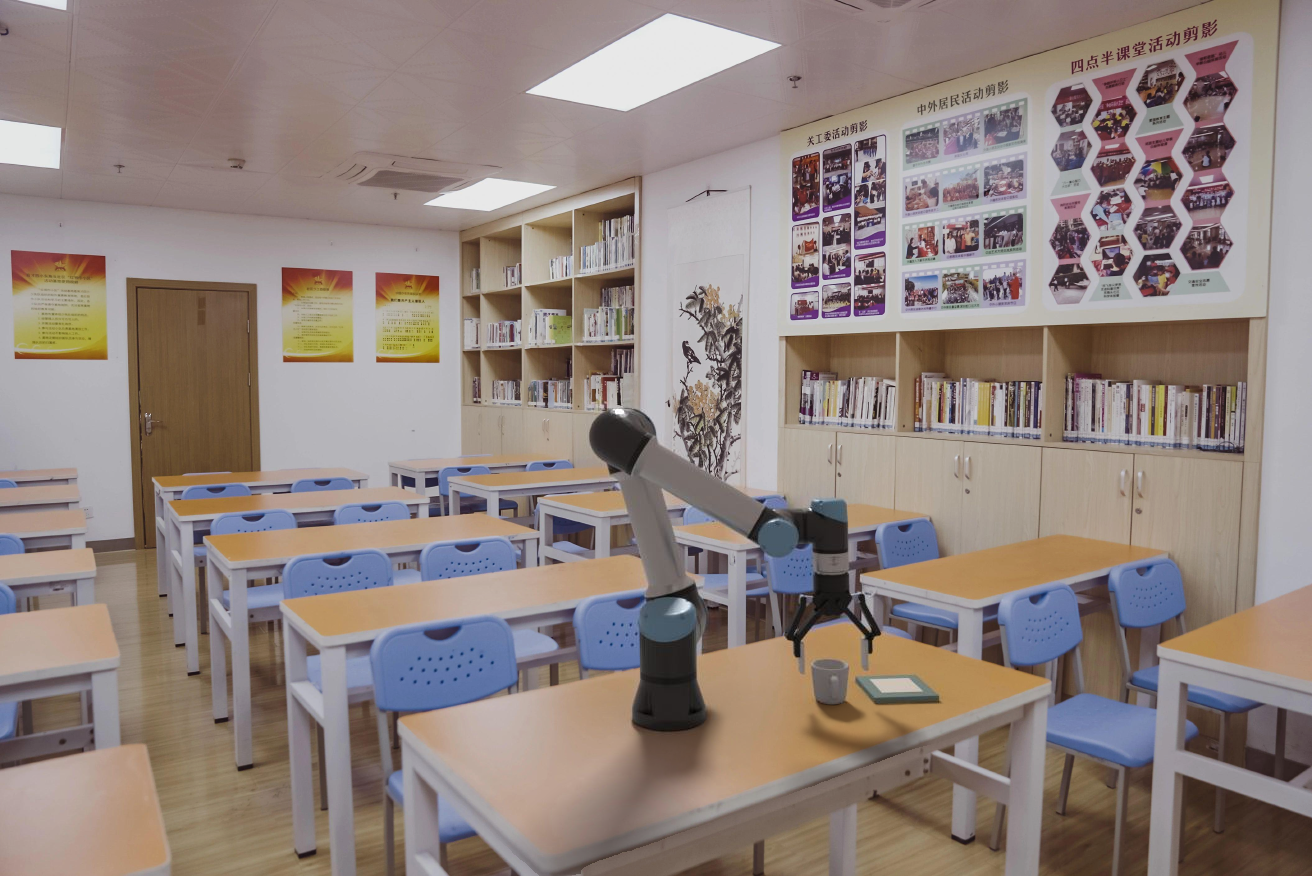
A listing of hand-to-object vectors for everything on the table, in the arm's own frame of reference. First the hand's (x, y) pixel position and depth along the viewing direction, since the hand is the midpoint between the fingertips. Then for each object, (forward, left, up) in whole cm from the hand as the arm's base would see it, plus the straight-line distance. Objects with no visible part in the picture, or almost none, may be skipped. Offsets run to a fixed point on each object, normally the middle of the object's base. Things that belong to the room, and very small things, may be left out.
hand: (833, 670), depth 182 cm
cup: (0, 0, -7) cm, 7 cm away
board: (+16, +6, -7) cm, 18 cm away
